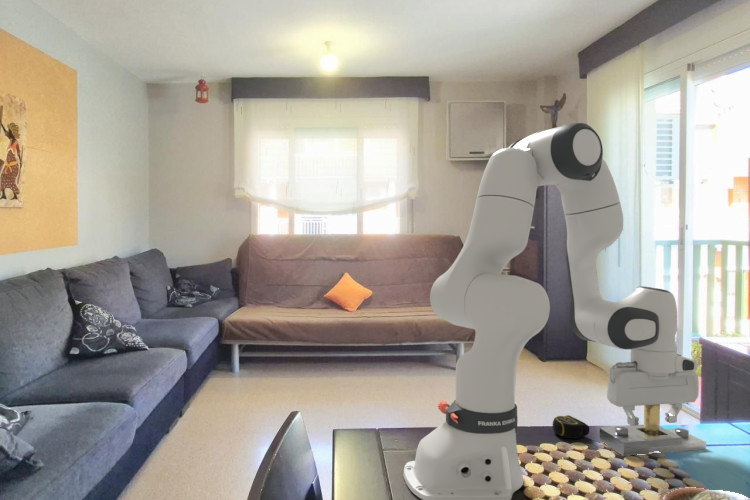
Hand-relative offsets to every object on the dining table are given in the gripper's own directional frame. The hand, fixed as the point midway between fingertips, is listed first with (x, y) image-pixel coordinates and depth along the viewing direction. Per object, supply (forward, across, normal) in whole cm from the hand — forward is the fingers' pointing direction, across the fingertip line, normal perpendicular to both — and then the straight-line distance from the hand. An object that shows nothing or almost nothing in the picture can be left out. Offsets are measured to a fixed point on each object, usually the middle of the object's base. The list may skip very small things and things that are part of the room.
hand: (652, 423), depth 110 cm
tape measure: (+5, -14, +9) cm, 18 cm away
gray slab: (+5, 0, 0) cm, 5 cm away
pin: (+5, 0, 0) cm, 5 cm away
